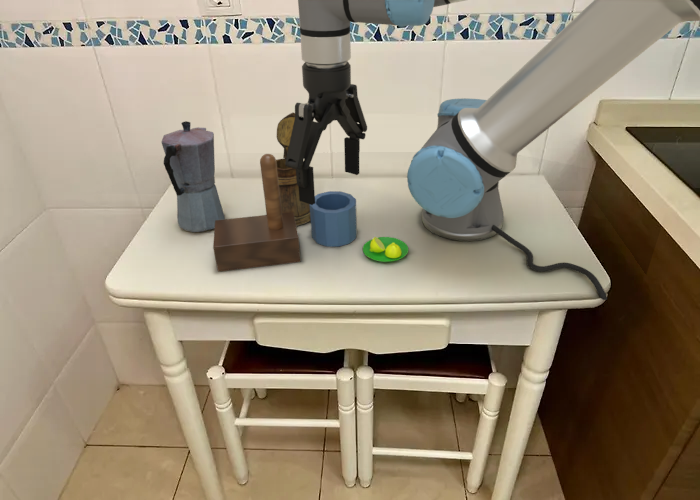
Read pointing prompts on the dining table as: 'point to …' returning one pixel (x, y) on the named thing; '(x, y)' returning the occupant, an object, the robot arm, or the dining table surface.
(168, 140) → the moka pot
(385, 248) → the green plate
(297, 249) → the peg box
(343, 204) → the blue faceted cup
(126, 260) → the dining table surface
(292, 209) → the wooden mug
